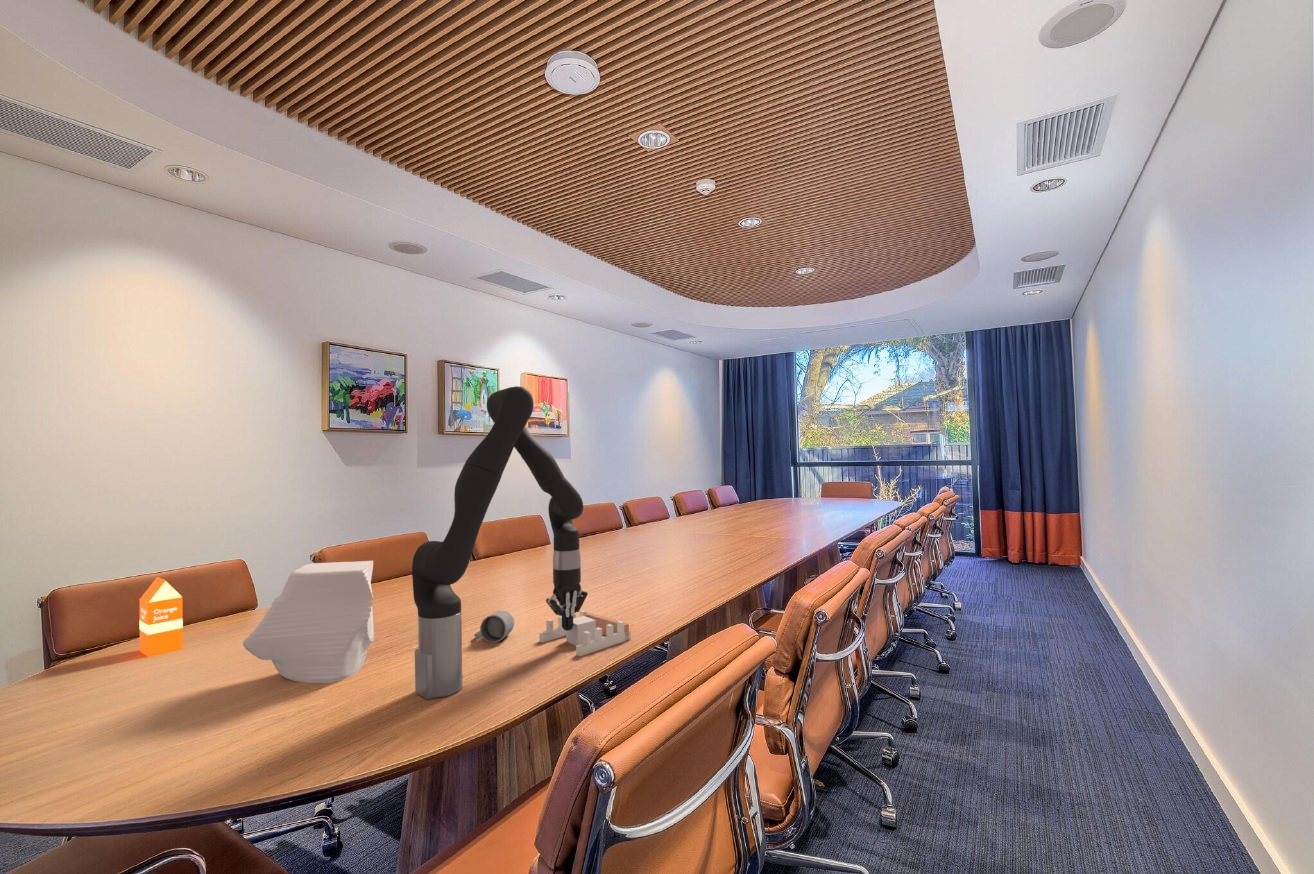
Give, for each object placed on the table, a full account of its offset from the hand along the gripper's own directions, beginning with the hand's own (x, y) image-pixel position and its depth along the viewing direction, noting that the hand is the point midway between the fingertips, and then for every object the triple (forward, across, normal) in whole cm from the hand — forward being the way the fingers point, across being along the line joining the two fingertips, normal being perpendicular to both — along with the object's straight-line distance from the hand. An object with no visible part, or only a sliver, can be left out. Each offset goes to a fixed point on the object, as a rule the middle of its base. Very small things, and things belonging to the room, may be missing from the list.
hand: (567, 629), depth 160 cm
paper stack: (+5, -51, +33) cm, 61 cm away
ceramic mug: (+5, -10, +22) cm, 24 cm away
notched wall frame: (+4, +6, 0) cm, 7 cm away
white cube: (+5, +5, 0) cm, 7 cm away
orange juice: (+5, -77, +85) cm, 115 cm away
